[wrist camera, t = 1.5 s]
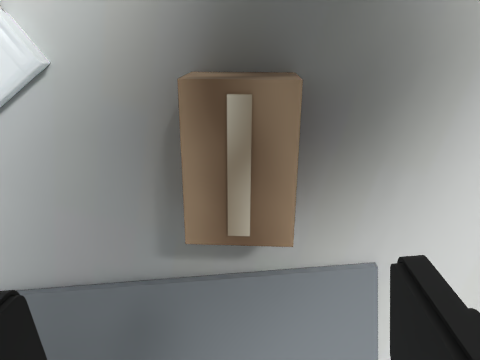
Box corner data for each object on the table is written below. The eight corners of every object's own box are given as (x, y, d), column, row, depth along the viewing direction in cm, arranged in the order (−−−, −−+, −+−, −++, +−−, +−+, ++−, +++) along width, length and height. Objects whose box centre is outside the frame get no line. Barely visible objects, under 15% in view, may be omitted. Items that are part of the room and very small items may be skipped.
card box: (294, 72, 23) (303, 80, 18) (287, 212, 26) (293, 248, 21) (192, 71, 23) (176, 79, 19) (197, 210, 26) (184, 245, 22)
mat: (375, 262, 26) (377, 267, 26) (375, 394, 30) (378, 401, 30) (-11, 292, 29) (-17, 297, 28) (37, 411, 33) (33, 418, 32)
